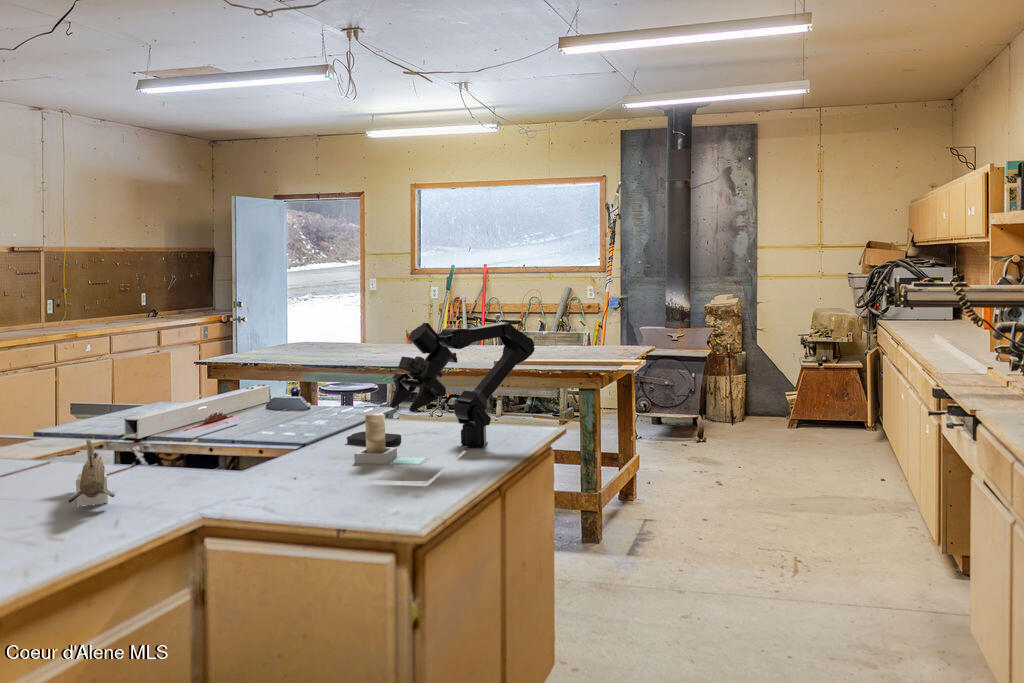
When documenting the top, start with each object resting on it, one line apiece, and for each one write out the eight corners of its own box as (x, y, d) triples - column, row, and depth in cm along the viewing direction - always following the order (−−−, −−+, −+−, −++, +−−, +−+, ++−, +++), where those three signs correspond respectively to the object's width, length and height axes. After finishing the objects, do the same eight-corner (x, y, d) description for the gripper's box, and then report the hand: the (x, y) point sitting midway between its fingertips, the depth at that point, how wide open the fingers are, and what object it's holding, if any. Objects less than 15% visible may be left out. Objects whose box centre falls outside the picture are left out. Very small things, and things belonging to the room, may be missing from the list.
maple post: (388, 458, 218) (387, 413, 218) (382, 462, 214) (380, 416, 213) (370, 457, 219) (369, 413, 218) (363, 461, 214) (362, 416, 214)
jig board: (431, 461, 219) (430, 448, 218) (421, 469, 210) (420, 455, 209) (366, 459, 222) (366, 446, 222) (353, 467, 213) (353, 453, 213)
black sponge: (405, 447, 239) (404, 434, 238) (386, 452, 231) (386, 440, 231) (361, 442, 247) (361, 430, 247) (342, 448, 240) (342, 435, 239)
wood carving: (112, 481, 203) (110, 436, 202) (117, 516, 172) (114, 463, 171) (71, 485, 199) (68, 440, 198) (68, 523, 168) (64, 468, 167)
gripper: (397, 343, 230) (363, 387, 224) (435, 347, 216) (401, 393, 210) (421, 369, 236) (389, 412, 229) (460, 374, 221) (427, 420, 215)
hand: (400, 409), depth 221 cm, fingers open, 9 cm apart
